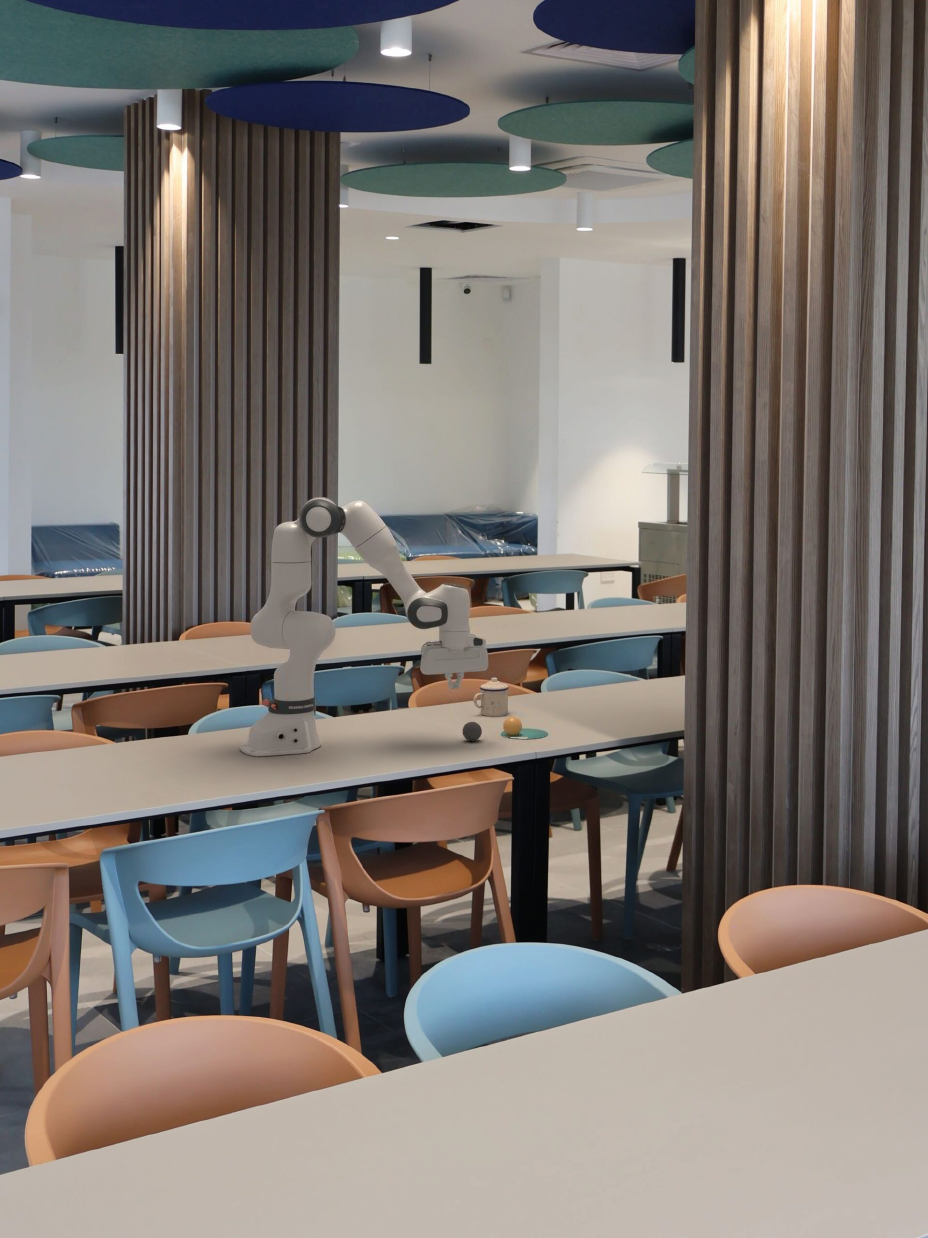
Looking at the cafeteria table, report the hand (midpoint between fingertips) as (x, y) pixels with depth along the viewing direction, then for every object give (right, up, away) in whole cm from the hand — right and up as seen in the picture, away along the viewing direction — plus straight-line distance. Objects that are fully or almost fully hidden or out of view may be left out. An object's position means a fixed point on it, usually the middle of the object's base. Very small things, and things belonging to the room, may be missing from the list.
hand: (454, 688), depth 363 cm
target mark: (+21, -14, +13) cm, 28 cm away
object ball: (+17, -12, +11) cm, 24 cm away
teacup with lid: (+11, -11, +42) cm, 45 cm away
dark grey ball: (+5, -13, +5) cm, 14 cm away
